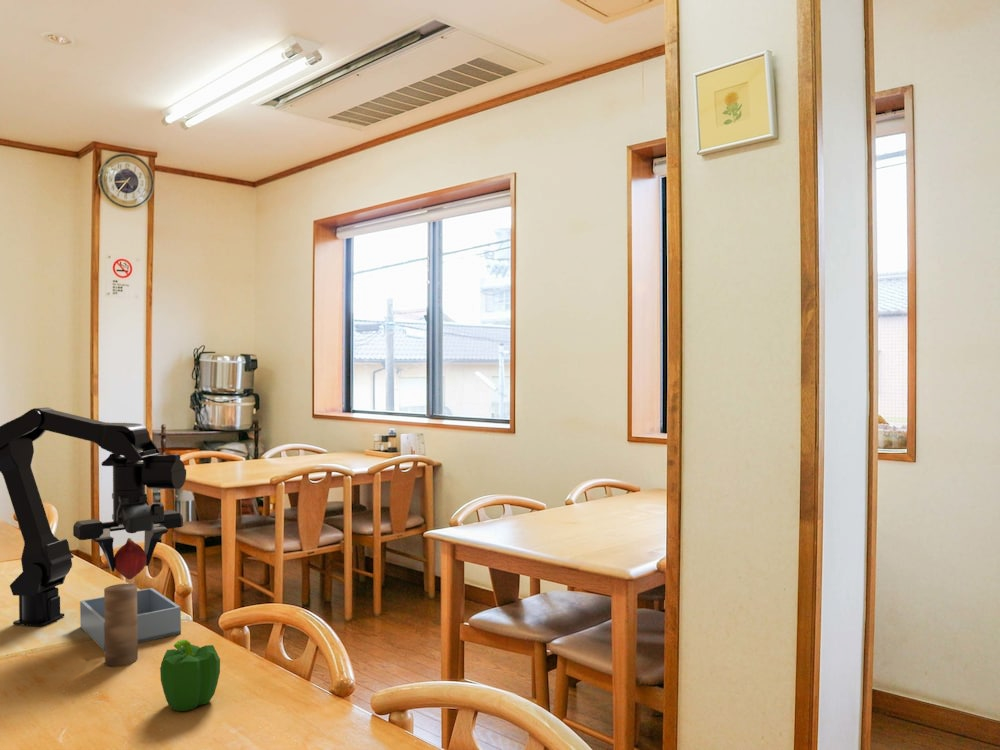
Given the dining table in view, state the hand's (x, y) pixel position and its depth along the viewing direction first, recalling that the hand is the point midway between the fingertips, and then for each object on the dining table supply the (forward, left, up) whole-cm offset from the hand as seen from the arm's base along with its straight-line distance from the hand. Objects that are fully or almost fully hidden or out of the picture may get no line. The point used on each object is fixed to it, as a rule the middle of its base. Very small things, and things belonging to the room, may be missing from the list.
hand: (129, 568), depth 152 cm
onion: (0, 0, -2) cm, 2 cm away
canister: (+11, -18, -11) cm, 24 cm away
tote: (+3, -4, -11) cm, 12 cm away
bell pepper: (+32, -32, -11) cm, 47 cm away
